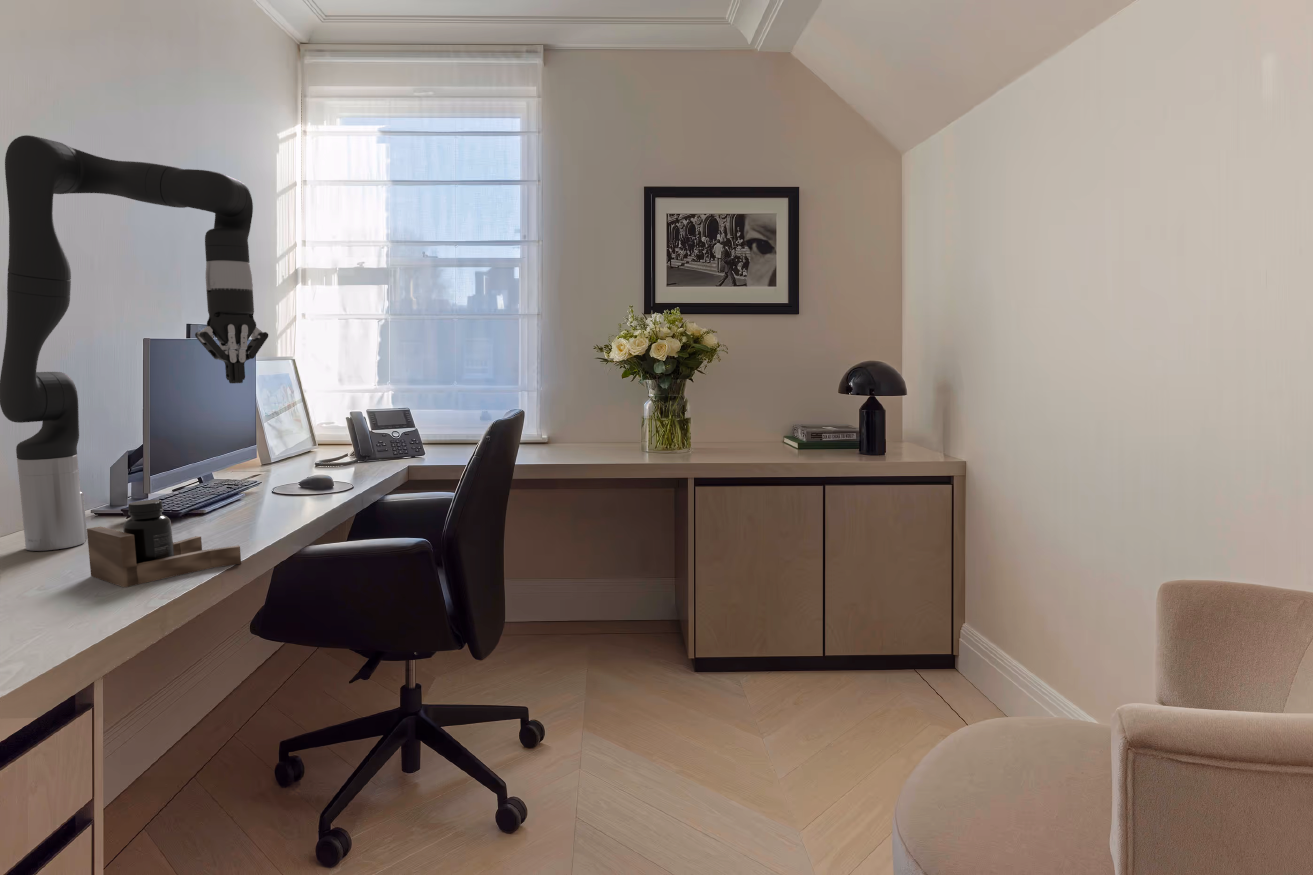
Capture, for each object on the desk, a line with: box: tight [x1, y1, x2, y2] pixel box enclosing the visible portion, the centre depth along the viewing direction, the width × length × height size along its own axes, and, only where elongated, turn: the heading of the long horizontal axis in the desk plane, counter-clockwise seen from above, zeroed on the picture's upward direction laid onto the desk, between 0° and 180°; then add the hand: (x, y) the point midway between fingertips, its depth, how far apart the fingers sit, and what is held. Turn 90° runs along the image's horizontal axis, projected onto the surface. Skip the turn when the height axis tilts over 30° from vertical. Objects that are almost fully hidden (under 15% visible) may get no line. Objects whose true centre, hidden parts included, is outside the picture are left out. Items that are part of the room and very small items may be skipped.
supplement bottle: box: [122, 499, 174, 564], centre depth 137 cm, size 7×7×12 cm
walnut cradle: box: [86, 526, 242, 588], centre depth 139 cm, size 18×15×8 cm
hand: (235, 383), depth 151 cm, fingers closed
